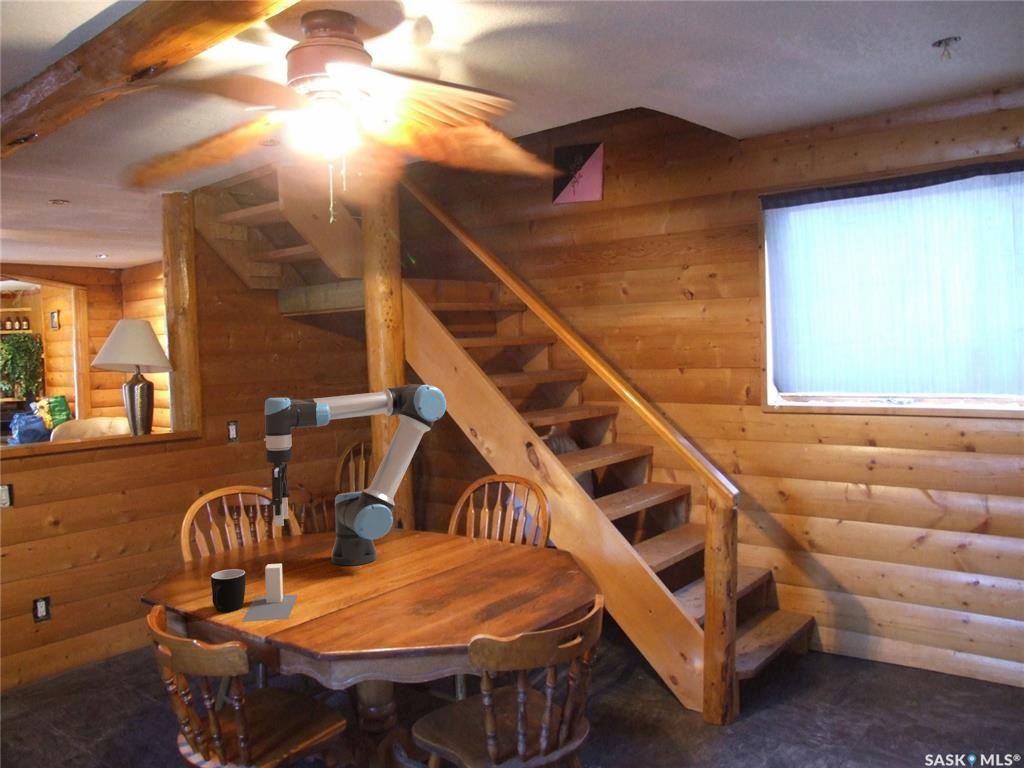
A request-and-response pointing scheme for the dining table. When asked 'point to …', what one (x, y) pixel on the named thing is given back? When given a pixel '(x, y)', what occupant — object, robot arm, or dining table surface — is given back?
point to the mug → (228, 590)
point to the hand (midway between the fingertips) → (281, 522)
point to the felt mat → (270, 609)
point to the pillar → (274, 583)
